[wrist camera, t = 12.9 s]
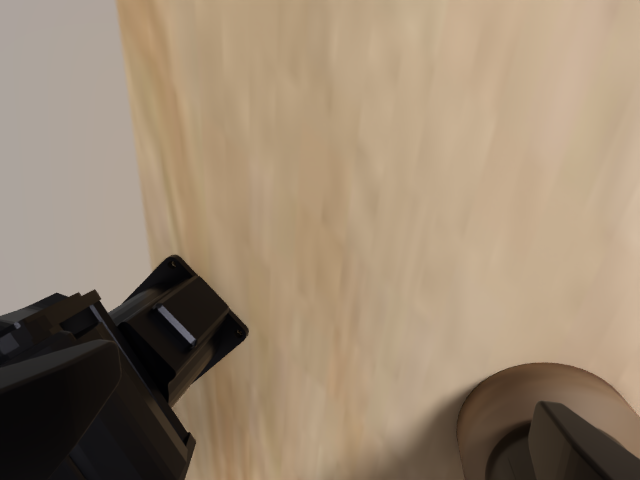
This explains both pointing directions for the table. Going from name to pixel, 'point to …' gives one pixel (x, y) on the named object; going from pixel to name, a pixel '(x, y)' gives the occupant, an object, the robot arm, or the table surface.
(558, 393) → the walnut stand
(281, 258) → the table surface
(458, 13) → the table surface
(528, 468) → the supplement bottle
